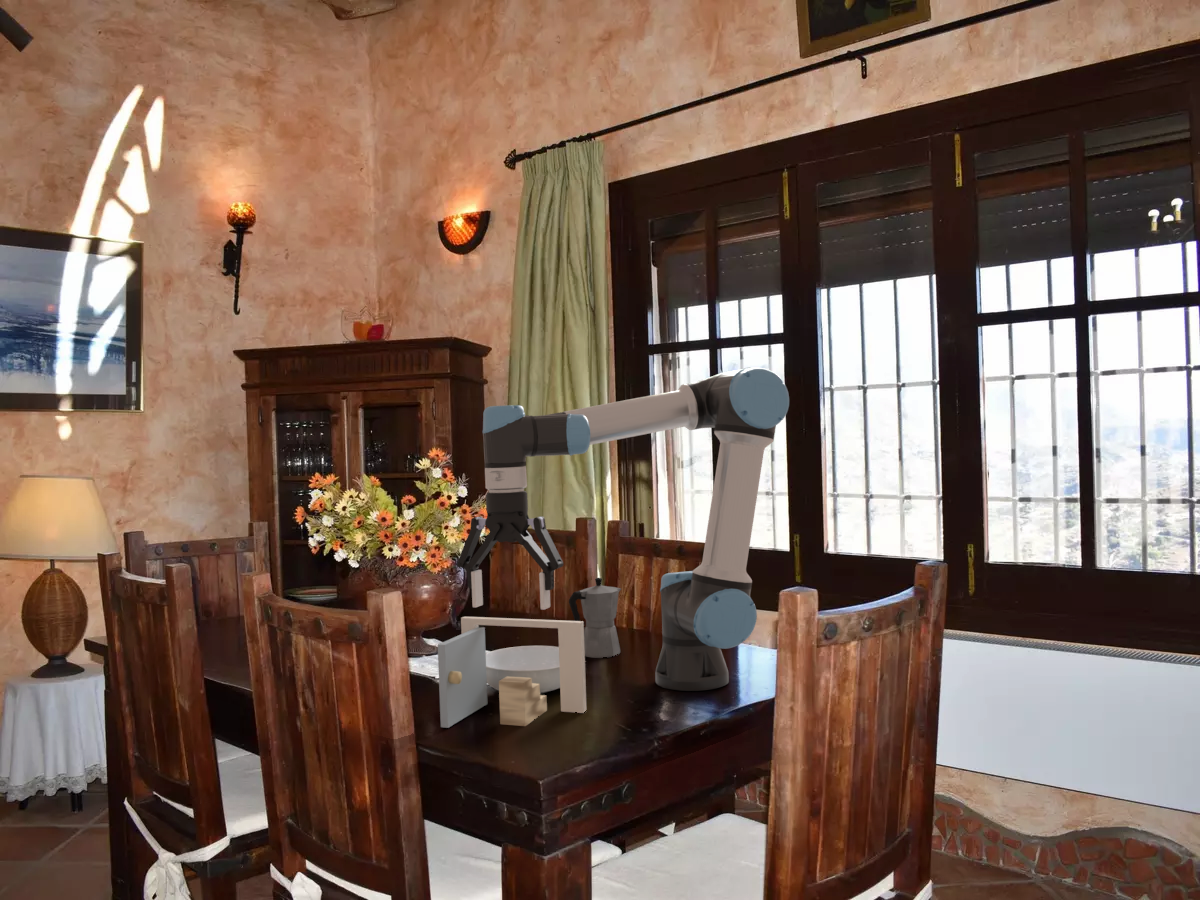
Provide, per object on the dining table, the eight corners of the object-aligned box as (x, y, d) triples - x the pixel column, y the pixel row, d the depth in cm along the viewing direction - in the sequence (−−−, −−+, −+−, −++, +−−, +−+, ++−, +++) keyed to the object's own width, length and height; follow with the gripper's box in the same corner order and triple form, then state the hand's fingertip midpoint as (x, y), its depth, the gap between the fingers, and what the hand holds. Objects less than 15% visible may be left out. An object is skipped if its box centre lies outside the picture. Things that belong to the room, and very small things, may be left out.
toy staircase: (523, 709, 187) (521, 667, 187) (547, 711, 185) (545, 669, 185) (500, 724, 178) (498, 681, 178) (525, 726, 176) (523, 682, 176)
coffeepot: (609, 646, 238) (607, 572, 238) (635, 652, 231) (632, 576, 231) (559, 657, 229) (556, 580, 228) (584, 663, 221) (581, 584, 221)
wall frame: (586, 710, 184) (583, 621, 184) (583, 713, 183) (580, 622, 182) (467, 702, 193) (464, 616, 193) (464, 704, 191) (460, 618, 191)
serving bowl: (487, 709, 188) (486, 673, 188) (472, 682, 208) (471, 650, 208) (591, 697, 194) (590, 663, 193) (567, 672, 214) (565, 641, 214)
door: (456, 728, 175) (452, 645, 175) (440, 727, 176) (437, 644, 176) (496, 703, 190) (493, 626, 190) (482, 702, 191) (479, 626, 191)
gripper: (435, 493, 178) (440, 609, 178) (562, 491, 169) (566, 613, 170) (455, 490, 185) (460, 601, 185) (577, 488, 176) (582, 605, 177)
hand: (511, 607), depth 177 cm, fingers open, 13 cm apart
